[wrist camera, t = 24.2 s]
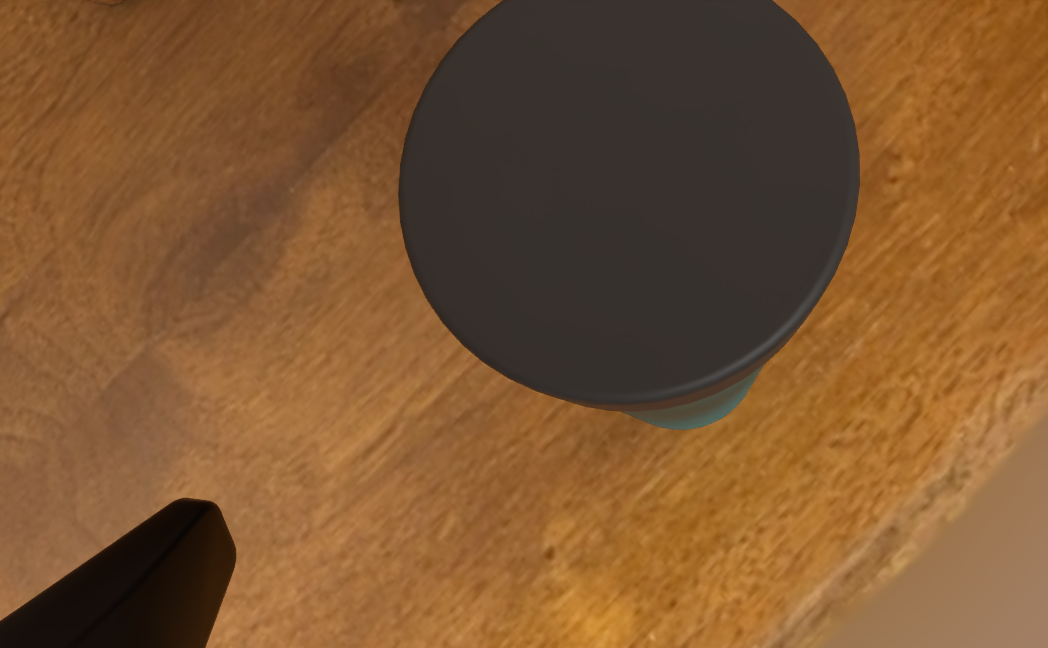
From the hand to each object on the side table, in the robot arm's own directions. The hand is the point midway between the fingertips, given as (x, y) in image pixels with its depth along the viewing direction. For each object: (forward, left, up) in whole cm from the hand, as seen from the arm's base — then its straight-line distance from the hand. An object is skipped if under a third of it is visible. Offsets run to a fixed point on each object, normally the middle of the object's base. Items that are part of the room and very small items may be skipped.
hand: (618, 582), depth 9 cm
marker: (+2, -2, -10) cm, 11 cm away
